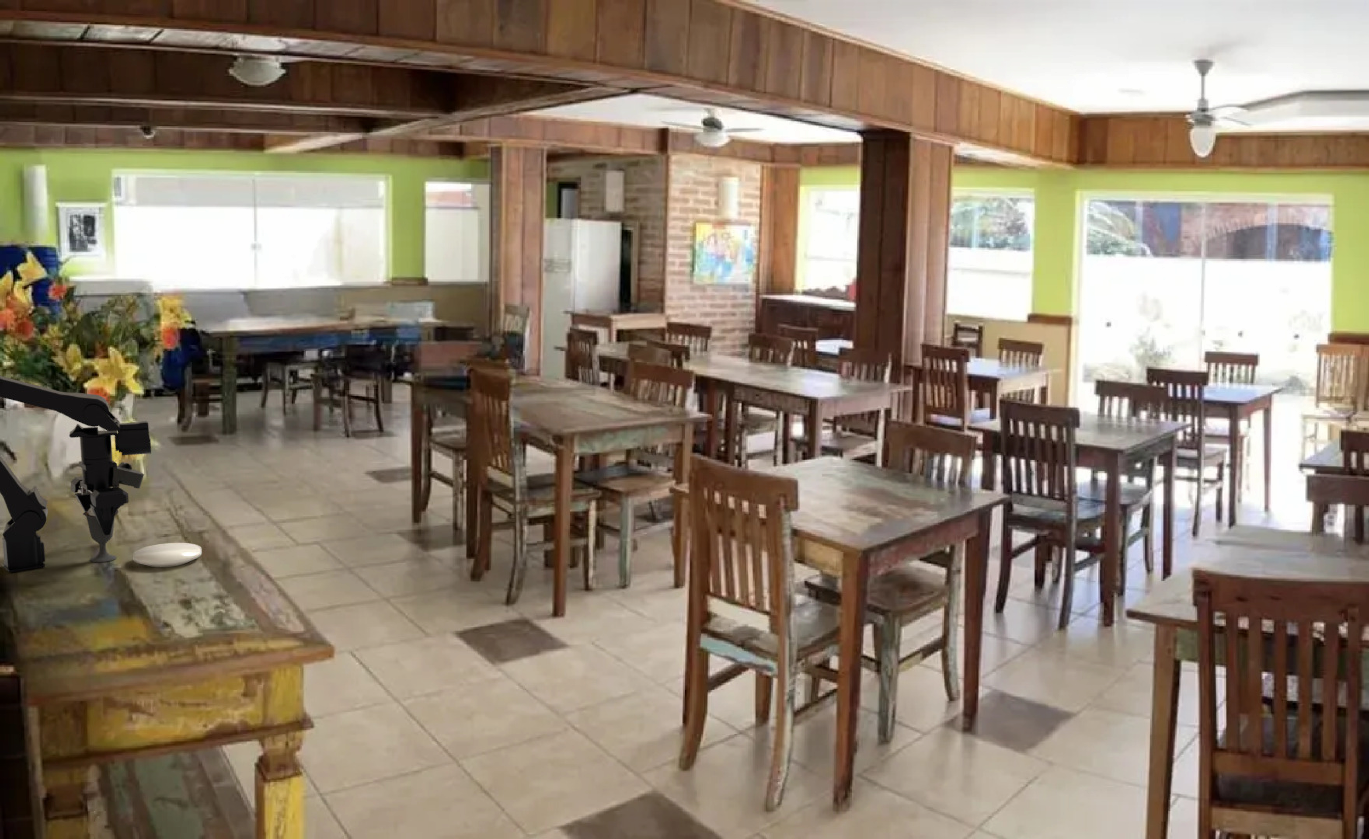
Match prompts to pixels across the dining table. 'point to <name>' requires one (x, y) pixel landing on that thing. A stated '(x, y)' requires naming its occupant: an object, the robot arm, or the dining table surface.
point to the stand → (167, 554)
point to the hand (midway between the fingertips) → (101, 530)
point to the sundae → (99, 537)
